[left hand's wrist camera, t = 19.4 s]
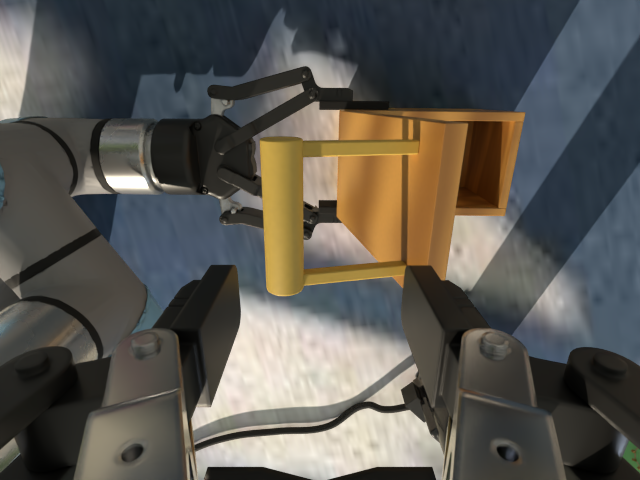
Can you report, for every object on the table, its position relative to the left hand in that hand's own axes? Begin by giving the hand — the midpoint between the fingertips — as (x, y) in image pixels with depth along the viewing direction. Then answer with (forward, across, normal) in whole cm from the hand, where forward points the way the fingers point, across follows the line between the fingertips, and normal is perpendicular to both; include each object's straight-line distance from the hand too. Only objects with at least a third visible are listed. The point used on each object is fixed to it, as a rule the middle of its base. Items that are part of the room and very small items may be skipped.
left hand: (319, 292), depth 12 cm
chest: (+34, -10, 0) cm, 35 cm away
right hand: (+28, -6, 0) cm, 28 cm away
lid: (+15, -5, 0) cm, 16 cm away
